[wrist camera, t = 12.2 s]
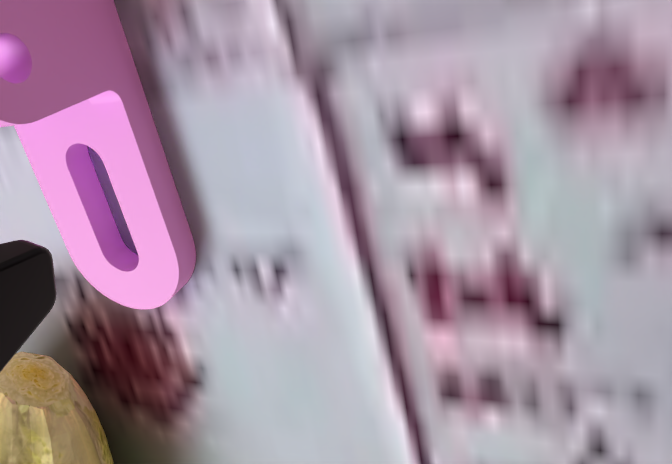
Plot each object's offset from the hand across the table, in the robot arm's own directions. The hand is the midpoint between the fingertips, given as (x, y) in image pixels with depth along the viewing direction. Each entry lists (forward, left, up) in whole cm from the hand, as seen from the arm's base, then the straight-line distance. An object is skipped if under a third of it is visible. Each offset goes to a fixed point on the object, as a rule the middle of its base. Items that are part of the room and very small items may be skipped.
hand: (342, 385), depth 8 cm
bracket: (+14, +6, -13) cm, 20 cm away
